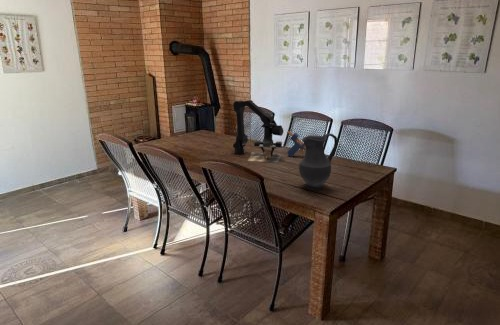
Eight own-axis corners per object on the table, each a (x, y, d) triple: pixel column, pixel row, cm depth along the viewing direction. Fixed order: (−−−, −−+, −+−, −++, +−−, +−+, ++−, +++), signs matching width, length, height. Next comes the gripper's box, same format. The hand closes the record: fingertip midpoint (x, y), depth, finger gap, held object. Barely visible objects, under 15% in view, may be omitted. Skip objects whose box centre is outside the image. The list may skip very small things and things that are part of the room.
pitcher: (294, 183, 198) (296, 131, 189) (327, 180, 202) (330, 130, 193) (305, 194, 181) (308, 139, 172) (341, 191, 186) (345, 137, 177)
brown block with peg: (263, 159, 234) (263, 152, 232) (265, 155, 243) (265, 149, 241) (269, 160, 233) (269, 153, 231) (271, 156, 242) (271, 149, 241)
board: (247, 162, 235) (247, 157, 234) (251, 157, 248) (251, 152, 247) (277, 164, 231) (278, 159, 229) (280, 158, 244) (280, 153, 243)
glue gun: (309, 172, 247) (323, 157, 241) (276, 146, 246) (288, 130, 240) (310, 169, 252) (323, 154, 246) (277, 143, 251) (289, 128, 245)
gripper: (252, 136, 229) (252, 158, 233) (280, 137, 225) (279, 160, 230) (255, 132, 239) (255, 154, 244) (282, 133, 235) (281, 155, 240)
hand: (267, 156), depth 239 cm, fingers closed on brown block with peg, 4 cm apart
